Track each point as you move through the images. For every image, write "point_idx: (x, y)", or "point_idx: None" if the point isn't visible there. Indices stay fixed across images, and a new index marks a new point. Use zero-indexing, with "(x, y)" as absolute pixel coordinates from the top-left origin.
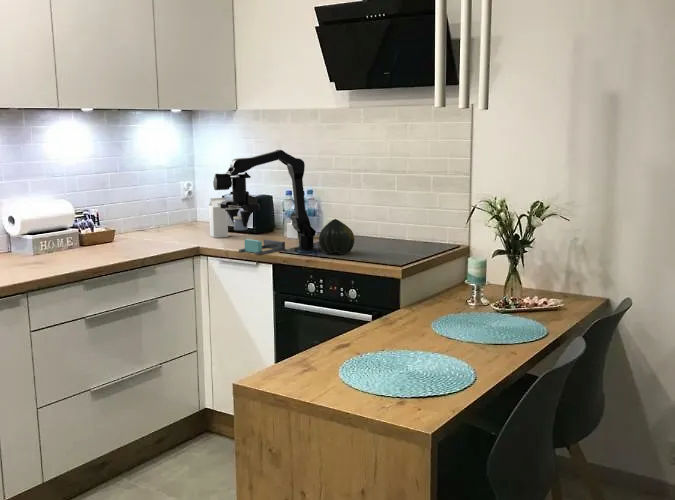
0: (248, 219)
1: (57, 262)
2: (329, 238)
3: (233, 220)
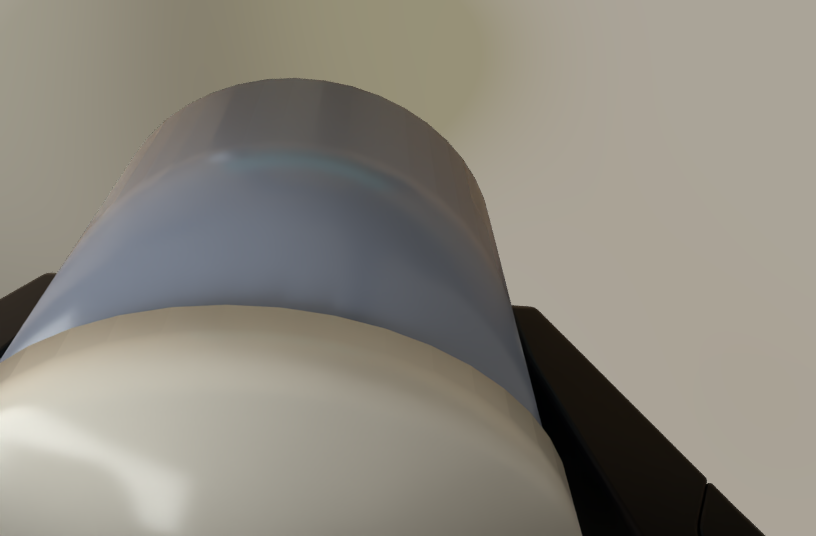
0: (696, 480)
1: None
2: None
3: None
